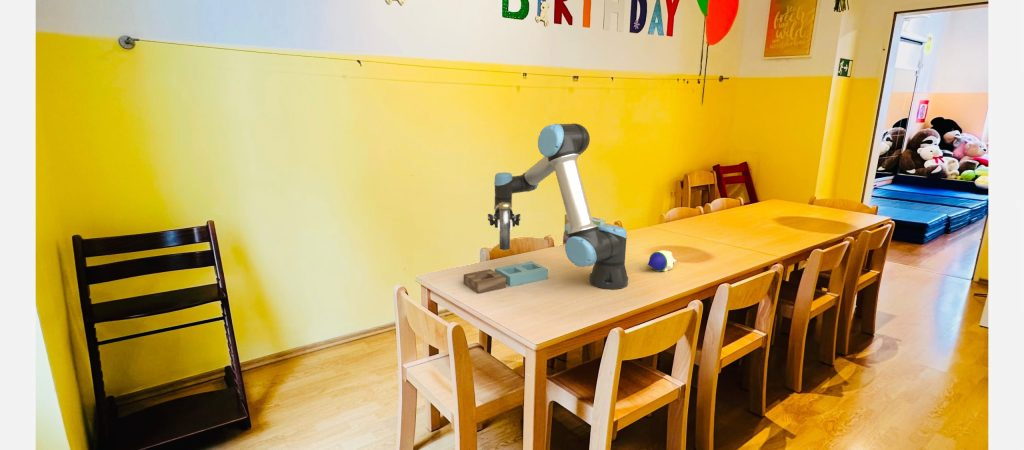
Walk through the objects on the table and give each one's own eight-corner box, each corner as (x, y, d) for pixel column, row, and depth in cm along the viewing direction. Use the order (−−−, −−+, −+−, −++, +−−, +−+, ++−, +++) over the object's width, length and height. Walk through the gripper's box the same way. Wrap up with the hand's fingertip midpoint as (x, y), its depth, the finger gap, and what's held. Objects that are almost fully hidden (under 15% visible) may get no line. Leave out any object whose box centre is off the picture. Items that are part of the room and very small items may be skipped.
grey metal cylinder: (512, 249, 194) (512, 203, 189) (502, 250, 192) (503, 204, 187) (506, 246, 197) (506, 201, 193) (496, 247, 195) (496, 202, 191)
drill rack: (548, 278, 202) (548, 269, 201) (510, 286, 192) (510, 277, 192) (531, 270, 212) (531, 261, 211) (494, 277, 202) (494, 268, 201)
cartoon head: (676, 272, 219) (651, 281, 206) (660, 257, 224) (635, 264, 211) (687, 258, 214) (662, 266, 201) (671, 243, 219) (646, 250, 206)
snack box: (563, 243, 253) (564, 214, 249) (569, 241, 257) (570, 212, 253) (598, 251, 239) (600, 221, 235) (604, 249, 243) (606, 219, 239)
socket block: (505, 287, 191) (505, 277, 190) (478, 293, 185) (478, 283, 184) (490, 278, 201) (490, 269, 200) (463, 283, 195) (463, 274, 194)
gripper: (523, 222, 211) (527, 236, 188) (483, 222, 210) (482, 236, 187) (524, 204, 209) (528, 217, 186) (483, 204, 208) (482, 217, 186)
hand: (505, 227), depth 187 cm, fingers closed on grey metal cylinder, 4 cm apart
